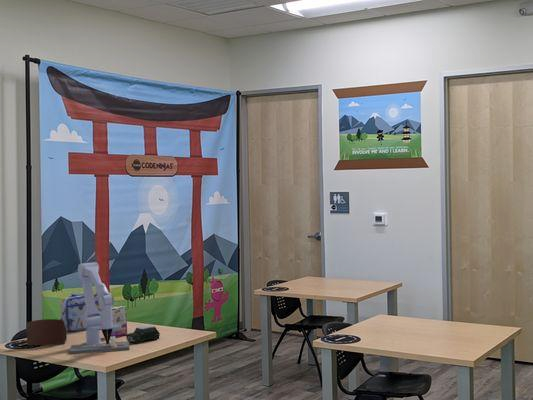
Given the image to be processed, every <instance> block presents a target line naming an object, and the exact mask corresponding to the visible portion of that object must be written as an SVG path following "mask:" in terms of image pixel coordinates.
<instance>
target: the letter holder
mask: <svg viewBox="0 0 533 400" xmlns="http://www.w3.org/2000/svg"><path fill="white" fill-rule="evenodd" d="M67 337H68V335H67V330H66V327H65V324H64V320H61V319H57V318H56V319H55V318H54V319H53V318H46V319H43V318H42V319H37V320H31V321H27V323H26V345H40V346H53V345H65V344H66V342H67V341H68V340H67Z"/></svg>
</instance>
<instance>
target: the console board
mask: <svg viewBox="0 0 533 400" xmlns="http://www.w3.org/2000/svg"><path fill="white" fill-rule="evenodd" d="M119 351H130V342H129V341H127V340H126V341H115V346H111V342H109V344H106V342H101V343H98V344H86V343H85V344H73V345H71V346H70V347H69V351H68V352H69V355H77V354H90V353H91V354H92V353H101V352H103V353H104V352H119Z"/></svg>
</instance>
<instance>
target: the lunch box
mask: <svg viewBox="0 0 533 400" xmlns="http://www.w3.org/2000/svg"><path fill="white" fill-rule="evenodd" d="M93 294H94V300H95V306H96V309H97V310H99V311H100V312H101V309H100V305H99V302H98V300H99V297H98V295H97V293H93ZM85 312H86V304H85V297H84V293H82V294H81V293H79V294H77V293H71V294H70V296H66V297H64V298H62V299H61V300H60V315H61V316H60V318H61V319H60V320H64V324H65V327H66V331H70V332H75V333H77V332H81V331H86V328H84V326H83V324H82V315H83V314H84V313H85ZM90 316H93V315H90Z"/></svg>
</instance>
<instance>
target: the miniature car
mask: <svg viewBox="0 0 533 400" xmlns="http://www.w3.org/2000/svg"><path fill="white" fill-rule="evenodd" d="M125 336H126V337H125V340H126V342H127V341H129V343H131V342H134V343H135V344H136V345H138V344H141V343H140V342H141V341H142V342H143V341H146V340H152V339H154V340H155V341H158V340H157V339H159V340H160V337H161V333H160V331H159V330H158V329H157V328H156V326H154V325H151V324H146V325H140V326H138V327H137V326H136V328H135V329H134V331H133V332H131V333H130V332H128V333H127V335H125Z"/></svg>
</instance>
